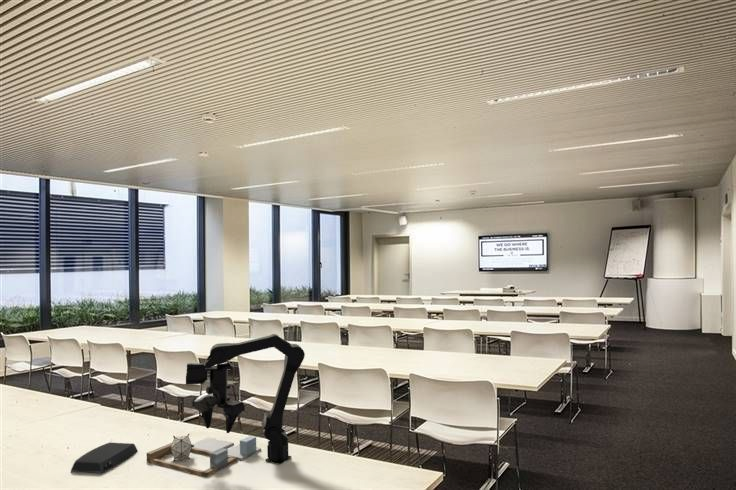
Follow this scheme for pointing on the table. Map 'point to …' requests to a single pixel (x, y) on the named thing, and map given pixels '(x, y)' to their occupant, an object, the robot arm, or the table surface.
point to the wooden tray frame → (217, 457)
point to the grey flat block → (240, 450)
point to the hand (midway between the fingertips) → (217, 430)
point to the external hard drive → (104, 458)
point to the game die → (181, 447)
